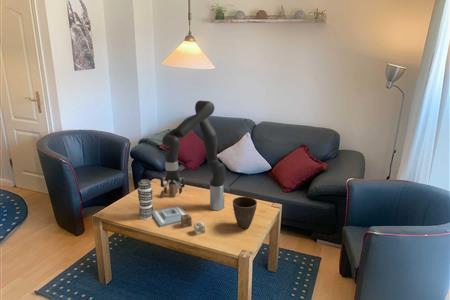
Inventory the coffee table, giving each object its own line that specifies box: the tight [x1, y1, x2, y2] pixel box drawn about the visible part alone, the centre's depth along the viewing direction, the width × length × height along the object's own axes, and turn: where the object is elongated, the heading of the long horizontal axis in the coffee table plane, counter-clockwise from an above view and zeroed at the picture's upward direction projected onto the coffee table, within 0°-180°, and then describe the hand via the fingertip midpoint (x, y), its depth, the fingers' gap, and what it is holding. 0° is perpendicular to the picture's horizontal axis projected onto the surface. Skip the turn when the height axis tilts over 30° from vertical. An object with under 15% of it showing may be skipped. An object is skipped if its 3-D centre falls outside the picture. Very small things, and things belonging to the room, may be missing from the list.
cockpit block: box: [193, 221, 206, 236], centre depth 197 cm, size 5×5×6 cm
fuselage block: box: [180, 213, 193, 229], centre depth 205 cm, size 5×5×6 cm
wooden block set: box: [159, 184, 179, 198], centre depth 247 cm, size 18×9×10 cm, turn 153°
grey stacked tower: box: [137, 178, 154, 220], centre depth 212 cm, size 9×9×25 cm
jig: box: [152, 205, 188, 227], centre depth 216 cm, size 20×20×3 cm
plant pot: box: [232, 196, 258, 229], centre depth 204 cm, size 15×15×16 cm
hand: (173, 193), depth 201 cm, fingers open, 8 cm apart
